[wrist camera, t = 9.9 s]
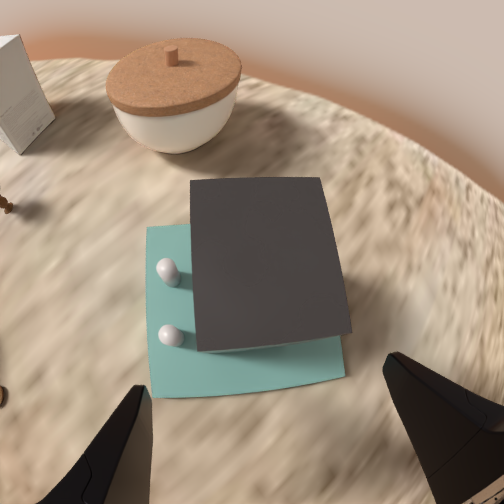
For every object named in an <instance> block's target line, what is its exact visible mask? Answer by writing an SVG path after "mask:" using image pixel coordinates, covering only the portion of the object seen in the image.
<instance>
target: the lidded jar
mask: <svg viewBox="0 0 504 504" xmlns="http://www.w3.org/2000/svg"><path fill="white" fill-rule="evenodd" d="M241 69H242V65H241V61H240V59H239V57H238V56H237V55H236V54H235V52H233V51H232V50H231V49H230V48H228V47H226V46H224V45H222V44H220V43H217V42H214V41H210V40H205V39H196V38H180V39H171V40H165V41H160V42H156V43H153V44H150V45H147V46H144V47H142V48H140V49H138V50H136V51H134V52H132V53H130V54H128V55H127V56H125V57H124V58H123V59H121V60H120V61H119V62H118V63H117V64H116V65H115V66H114V67H113V69H112V70H111V71H110V73H109V75H108V77H107V80H106V91H107V94H108V97H109V99H110V101H111V103H112V105H113V108H114V111H115V113H116V116H117V118H118V120H119V121H120V123H121V125H122V127H123V128H124V130H125V131H126V132H127V134H128V135H129V136H130V137H131V138H132V139H133V140H135V141H136V142H137V143H139V144H140V145H142V146H144V147H146V148H148V149H151V150H154V151H158V152H163V153H168V154H181V153H186V152H189V151H192V150H194V149H196V148H198V147H199V146H201V145H203V144H205V143H206V142H208V141H209V140H211V139H212V138H213V137H214V136H215V135H217V134H218V133H219V131H220V130H221V129H222V128H223V127H224V125H225V124H226V122H227V121H228V119H229V117H230V115H231V112H232V110H233V107H234V104H235V101H236V96H237V90H238V83H239V80H240V76H241Z"/></svg>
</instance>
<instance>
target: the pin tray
mask: <svg viewBox="0 0 504 504" xmlns="http://www.w3.org/2000/svg"><path fill="white" fill-rule="evenodd" d="M146 321H147V341H148V356H149V368H150V379H151V388H152V397H153V398H180V397H205V396H220V395H232V394H242V393H252V392H260V391H268V390H275V389H282V388H288V387H294V386H300V385H306V384H311V383H316V382H321V381H326V380H331V379H336V378H340V377H344V376H345V370H344V362H343V354H342V346H341V339H340V336H335V337H331V338H326V339H321V340H316V341H311V342H306V343H300V344H295V345H289V346H282V347H274V348H266V349H257V350H247V351H237V352H225V353H211V354H209V353H203V352H197V343H196V331H195V318H194V302H193V285H192V263H191V230H190V224H184V225H169V226H155V227H147V236H146Z"/></svg>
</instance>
